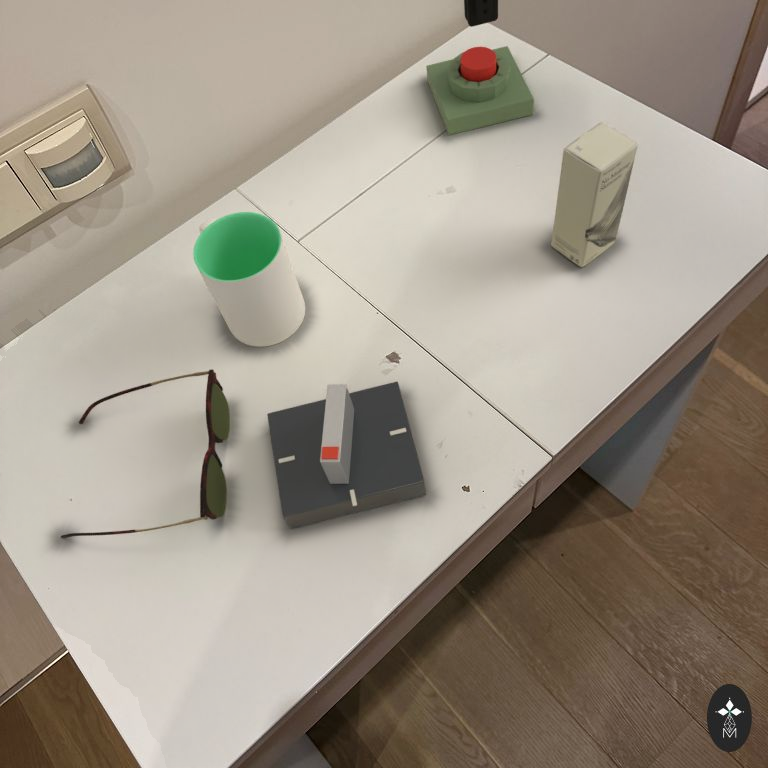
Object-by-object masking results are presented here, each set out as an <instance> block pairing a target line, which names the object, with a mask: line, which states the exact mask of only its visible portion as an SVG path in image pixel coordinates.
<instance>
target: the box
mask: <svg viewBox="0 0 768 768" xmlns="http://www.w3.org/2000/svg"><path fill="white" fill-rule="evenodd" d="M638 147H639V143H638V142H637V141H635V140H634V139H632V138H630V137H629V136H628V135H626V134H624V133H623V132H622V131H620V130H618V129H616V128H615V127H613V126H612V125H610V124H608V123H607V122H605V121H601V122H599V123H597V124H596V125H594V126H593V127H591V128H590V129H589V130H587V131H586V132H583V134H581V135H580V136H579V137H577V138H576V139H574V140H573V141H572V142H571V143H569V144H568V145H566V146H565V147H564V148H563V152H562V160H561V168H560V174H559V175H560V176H559V183H558V191H557V198H556V205H555V214H554V220H553V222H554V223H553V228H552V229H553V230H552V236H551V241H550V246H551V247H552V248H554V249H555V250H556V251H557V252H558V253H561V255H563V256H564V257H566V258H567V259H568V260H570V261H571V262H573V263H574V264H575V265H577V266H578V267H580V268H584V267H586V266H587V265H588V264H589V263H591V262H592V261H594V260H595V259H596V258H597V257H600V255H602V254H603V253H604V252H606V251H607V250H608V249H609V248H610V247H612V245H614V244H615V243H616V241H617V236H618V233H619V229H620V228H619V227H620V224H621V219H622V216H623V212H624V207H625V202H626V198H627V194H628V190H629V185H630V180H631V175H632V171H633V167H634V164H635V160H636V155H637V151H638Z"/></svg>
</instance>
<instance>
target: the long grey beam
mask: <svg viewBox="0 0 768 768" xmlns="http://www.w3.org/2000/svg"><path fill="white" fill-rule="evenodd" d="M349 393H350V391H349V388H348V385H347V384H346V383H343V384H342V383H341V384H340V383H337V384H334V383H333V384H327V387H326V396H325V397H326V398H325V399H326V405H325V415H324V425H323V435H322V445H321V455H320V463H321V465H322V467H323V469H324V471H325V474H326V476H327V478H328V480H329V482H330V484H349V474H350V461H351V448H352V435H353V422H354V407H353V404H352V401H351V398H350V394H349Z"/></svg>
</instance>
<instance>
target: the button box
mask: <svg viewBox="0 0 768 768" xmlns="http://www.w3.org/2000/svg"><path fill="white" fill-rule="evenodd" d="M492 50H493V51H494V52H495V54H496V73H495V75H494V76H493V77H492V78H491V79H489V80H486V81H482V82H472V81H467V80H466V79H464V78H463V77H462V75H461V62H460V59H461V56H462V54H463V53H464V52H465V51H463V52H461V53H460V54H458V55H457V56H455V57H454V58H452V59H448V60H444V61H440V62H436V63H432V64H428V65H426V66H425V69H426V79H427V84H428V86H429V88H430V91H431V94H432V96H433V99H434V101H435V105H436V107H437V110H438V112H439V115H440V117H441V120H442V122H443V124H444V127H445V130H446V133H447V135H448V136H451V135H455V134H460V133H464V132H468V131H471V130H475V129H480V128H484V127H488V126H492V125H495V124H500V123H504V122H508V121H513V120H516V119H520V118H525V117H529V116H533V115H534V102H535V99H534V97H533V94H532V92H531V91H530V88H529V87H528V85H527V83H526V80H525V79H524V76H523V74H522V72H521V70H520V68H519V66H518V65H517V62H516V60H515V57H514V56H513V54H512V52H511V50H510V48H509V46H508V45H505V46H502V47H496V48H493V49H492Z"/></svg>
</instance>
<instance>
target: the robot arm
mask: <svg viewBox="0 0 768 768" xmlns="http://www.w3.org/2000/svg"><path fill="white" fill-rule="evenodd" d="M463 6H464V7H463V8H464V18H465V20H466V22H467V25H468V26H469V27H470V28H473V27H477V26H480V25H484V24H488V23H492V22H496V21H497V20H498V19H499V0H463Z"/></svg>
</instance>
